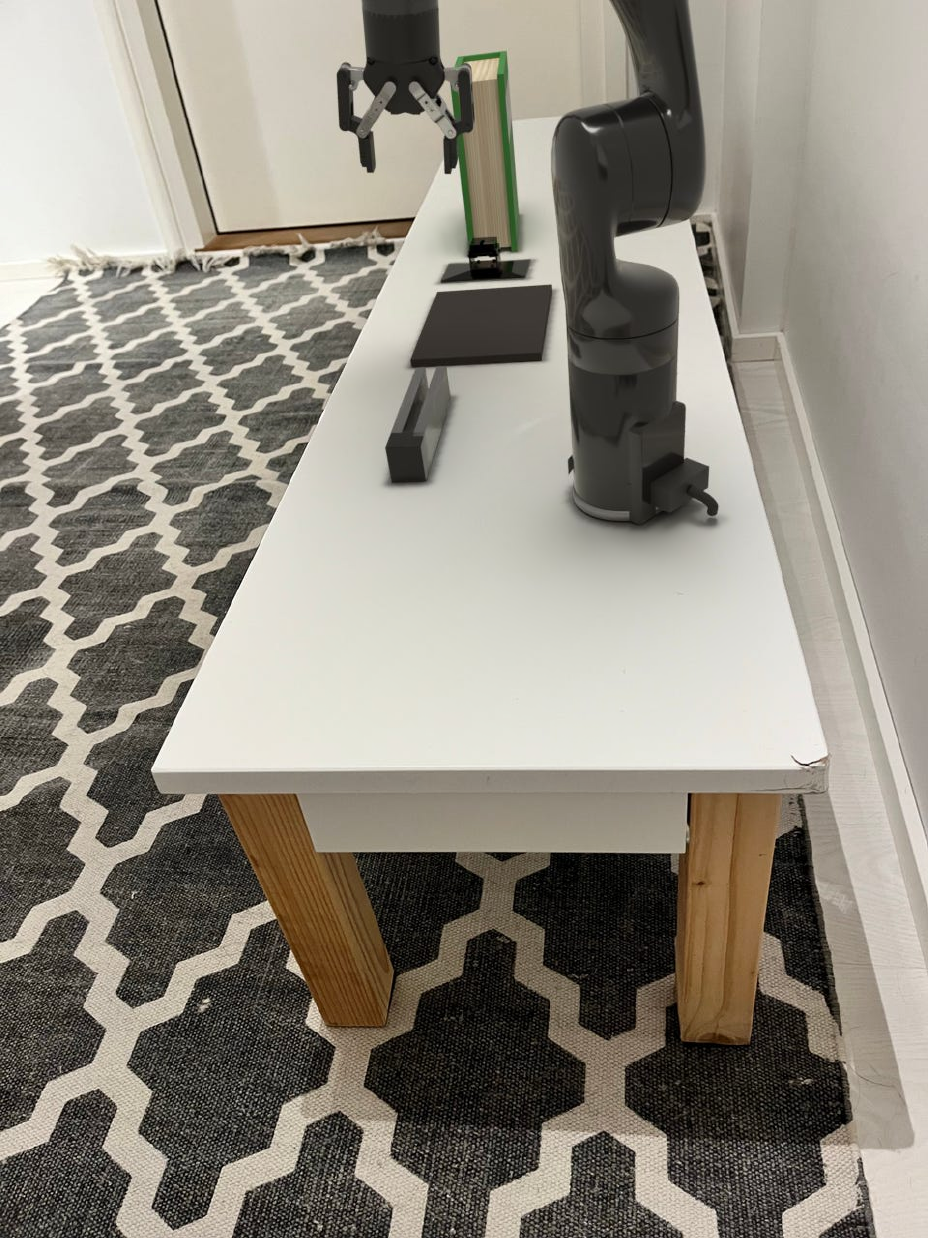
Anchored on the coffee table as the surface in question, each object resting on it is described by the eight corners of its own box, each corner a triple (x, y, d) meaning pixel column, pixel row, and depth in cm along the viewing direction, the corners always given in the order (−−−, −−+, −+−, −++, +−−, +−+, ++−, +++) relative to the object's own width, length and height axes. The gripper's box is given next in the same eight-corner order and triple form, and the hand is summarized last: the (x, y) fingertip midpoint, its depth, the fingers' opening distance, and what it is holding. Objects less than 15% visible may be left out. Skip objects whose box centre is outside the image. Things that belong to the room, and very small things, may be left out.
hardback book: (517, 251, 146) (503, 73, 131) (469, 256, 147) (449, 79, 132) (519, 215, 160) (506, 50, 145) (475, 219, 160) (457, 56, 145)
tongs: (426, 481, 96) (420, 446, 94) (391, 482, 97) (384, 447, 94) (450, 398, 110) (446, 365, 107) (420, 399, 111) (415, 367, 108)
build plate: (440, 283, 139) (435, 251, 137) (449, 265, 145) (445, 234, 142) (525, 278, 137) (522, 245, 134) (531, 260, 142) (528, 228, 139)
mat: (541, 360, 115) (541, 352, 115) (411, 367, 118) (410, 359, 117) (552, 291, 132) (551, 283, 131) (437, 298, 135) (436, 291, 134)
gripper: (321, 11, 92) (340, 184, 104) (469, 11, 91) (471, 185, 103) (335, -10, 97) (351, 157, 109) (475, -11, 96) (477, 158, 108)
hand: (410, 170), depth 106 cm, fingers open, 8 cm apart
